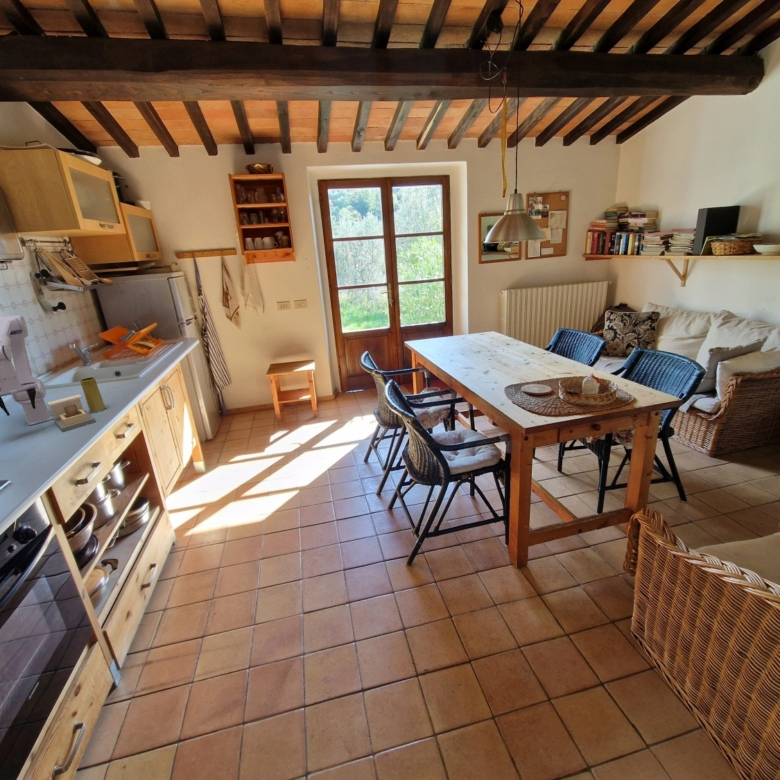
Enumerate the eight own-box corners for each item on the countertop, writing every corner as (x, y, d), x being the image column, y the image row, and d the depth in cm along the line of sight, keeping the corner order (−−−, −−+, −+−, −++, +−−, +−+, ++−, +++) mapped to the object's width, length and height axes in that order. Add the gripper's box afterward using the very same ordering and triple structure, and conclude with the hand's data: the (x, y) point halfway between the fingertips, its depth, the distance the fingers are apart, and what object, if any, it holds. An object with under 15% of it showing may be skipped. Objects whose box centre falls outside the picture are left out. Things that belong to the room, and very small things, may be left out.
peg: (67, 420, 166) (62, 406, 163) (79, 417, 168) (74, 403, 166) (70, 422, 163) (64, 409, 161) (81, 419, 166) (76, 405, 164)
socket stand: (54, 422, 169) (46, 402, 166) (86, 413, 176) (79, 394, 173) (62, 432, 158) (54, 411, 155) (95, 421, 166) (88, 401, 163)
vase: (103, 406, 183) (93, 375, 179) (108, 408, 180) (97, 378, 175) (87, 410, 179) (76, 380, 174) (92, 413, 175) (81, 382, 170)
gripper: (-19, 385, 144) (-3, 420, 149) (33, 374, 154) (47, 407, 158) (-20, 382, 149) (-5, 416, 153) (30, 371, 158) (43, 403, 163)
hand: (21, 411), depth 156 cm, fingers open, 7 cm apart
